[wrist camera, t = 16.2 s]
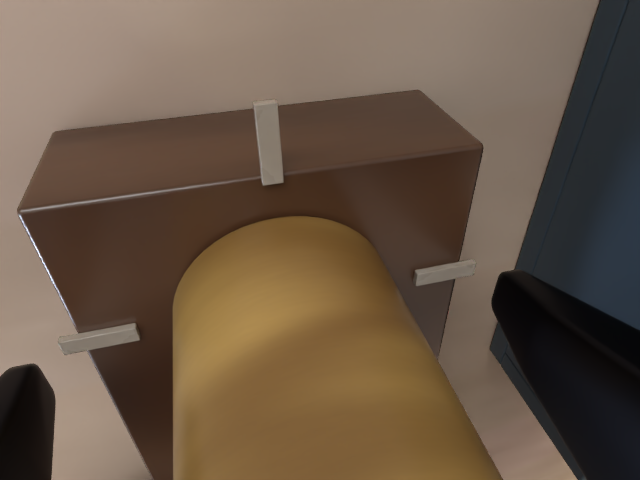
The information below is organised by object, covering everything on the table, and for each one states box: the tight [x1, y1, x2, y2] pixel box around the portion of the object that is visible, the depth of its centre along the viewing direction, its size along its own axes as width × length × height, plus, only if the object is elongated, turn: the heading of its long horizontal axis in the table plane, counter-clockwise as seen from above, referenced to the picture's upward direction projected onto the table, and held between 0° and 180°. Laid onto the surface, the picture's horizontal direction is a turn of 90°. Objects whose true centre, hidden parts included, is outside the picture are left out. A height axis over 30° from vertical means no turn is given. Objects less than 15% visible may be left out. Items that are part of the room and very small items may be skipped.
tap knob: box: [173, 216, 503, 480], centre depth 8 cm, size 4×4×5 cm
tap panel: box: [17, 90, 483, 480], centre depth 12 cm, size 11×9×3 cm
